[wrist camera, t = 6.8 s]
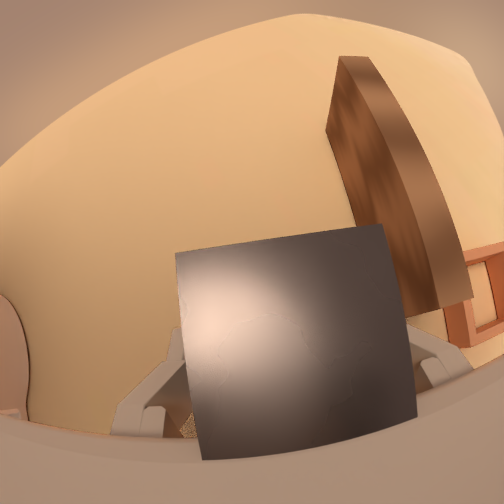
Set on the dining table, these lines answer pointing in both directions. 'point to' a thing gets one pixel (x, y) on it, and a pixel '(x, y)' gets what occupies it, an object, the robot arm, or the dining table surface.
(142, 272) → the dining table surface
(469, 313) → the frame
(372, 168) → the door panel
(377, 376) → the bar
